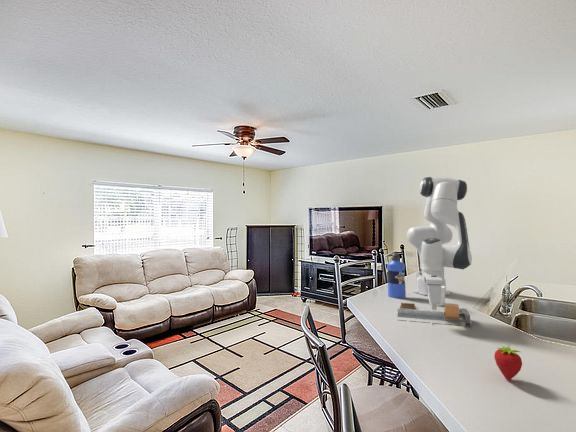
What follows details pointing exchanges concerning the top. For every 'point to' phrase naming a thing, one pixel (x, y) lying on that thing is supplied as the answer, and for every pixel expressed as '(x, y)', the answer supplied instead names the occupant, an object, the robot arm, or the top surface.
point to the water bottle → (396, 277)
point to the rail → (435, 316)
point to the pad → (408, 306)
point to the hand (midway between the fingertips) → (434, 309)
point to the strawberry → (508, 362)
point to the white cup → (441, 297)
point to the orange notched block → (451, 310)
